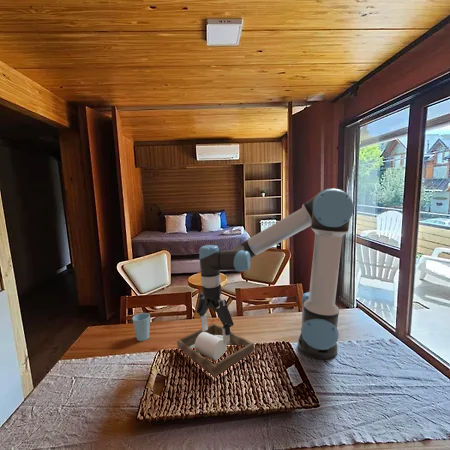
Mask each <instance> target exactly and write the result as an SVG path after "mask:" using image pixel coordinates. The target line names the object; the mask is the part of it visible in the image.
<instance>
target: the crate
mask: <svg viewBox="0 0 450 450" xmlns="http://www.w3.org/2000/svg"><path fill="white" fill-rule="evenodd" d="M222 327H223V326H222V325H219V324H217V323H216V322H214V323H212V324H210V325H208V330H206V331H204V332H206V333H209V334H211V335H214V336H215V335H222V336H223V330H222ZM200 333H202V328H201V329H198V330H197V331H194V332H192V333H190V334H188V335H186V336H184V337H181V338H180V339H179V338H178V339H177V340H176V343H177V344H176V345H177V350H178V349H181V350H183V351H184V352H185V353H186V354H187V355H188V356H189V357H190V358H191V359H192V360H193V361H194V362H196V363H197V364H198V365H199V366H201V367H202V368H203V369H204V370H206V371H207V372H208V373H210V374H211V375H212V376H213V377H217V376H218V375H219V374H221V373H222V372H224V371H225V370H227V369H228V368H230V367H231V366H233V365H234V364H236V363H237V362H239V361H240V360H242V359H243V358H244V357H246V356H247V355H248V354H250V353H251V352H252V351H253V350H254V349H255V348H254V342H252V341H250V340H248V339H246V338H245V337H244V338H243V337H242V336H240V335H238V334H236V333H235V332H233V331H231V330H230V341H229V342H228V343H226V345H244V346H245V347H243V348H241V349H240V350H238V351H236V352H235V353H233V354H231V355H230V356H228V357H226V358H225V359H223V360H221V361H220V362H218V363H216V364H213V363H212V362H211V361H209V360H208V359H206V358H205V357H203V356H202V355H201V354H199V353H198V352H196V351H195V350H193V349H192V348H195V341H196V338H197V337H198V335H199V334H200Z"/></svg>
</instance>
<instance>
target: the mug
mask: <svg viewBox="0 0 450 450" xmlns="http://www.w3.org/2000/svg"><path fill="white" fill-rule="evenodd" d="M195 350H196V351H197V352H199V353H201V354H203V355H205V356H207V357H209V358H211V359H213V360H215V361H217V360H218V359H219V358H220V357H221V356H222V355H223V354H224V353H225V351H226V344H224V343H223V336H222V335H215V336H214V335H211V334H209V333H206V332H202V333H200V334H199V335H198V337H197V338H196V341H195Z"/></svg>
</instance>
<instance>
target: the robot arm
mask: <svg viewBox="0 0 450 450" xmlns="http://www.w3.org/2000/svg"><path fill="white" fill-rule="evenodd" d="M354 207H355V206H354V202H353V200H352V198H351V196H350V195H349V194H348V192H345V191H344V190H343V189H339V188H326V189H322V190H321V191H318V193H317V194H316V195H315V196H313V197H312V198H311V199H309V200H308V201H306V202H305V203H303V204H302V206H301V208H299V209H298V210H296V211H294V212H292V213H290V214H288V215H287V216H285V217H284V218H282V219H281V220H279V221H277V222H276V223H273V224H272V225H270V226H268V227H267V228H264V229H263V230H261V231H260V232H258V233H257V234H255V235H252V236H251V237H250V238H247V240H244V241H243V242H240V243H239V244H237V245H236V246H235V247H234V248H233V249H232V250H220V248H219V246H218V245H215V244H206V245H202V246H201V247H200V248H199V249H198V250H199V251H198V252H199V258H198V259H199V266H200V267H199V268H200V278H201V279H200V281H201V282H200V283H201V286H202V287H201V291H202V292H201V293H199V300H198V304H197V308H196V313H197V314H198V315H199V317H200V319H199V320H200V325H201V326H200V327H201V329H202V332H204V331H206V330H208V326H209V325H208V324H209V323H208V315H207V313H208V310H209V308H210V309H211V310H213V311H214V312H215V313H216V314H217V316H218V318H219V320H220V322H221V324H222V326H221V327H222V330H223V343H224V344H226V343H228V342H229V341H230V331H231V327H233V326H235V325H234V321H233V319H232V316H231V313H230V311H229V307H228V304H227V300H226V299H223V300H222V299H221V294H222V285H221V283H222V282H221V271H224V272H227V271H228V272H248V271H249V270H250V268H251V264H252V261H251V260H252V259H253V258H254V257H256V256H258V255H260V254H261V253H263V252H265V251H267V250H269V249H270V248H272V247H274V246H277V245H278V244H280V243H281V242H283V241H286V240H287V239H290V237H293V236H294V235H296V234H298V233H299V232H301V231H304V230H305V229H308V228H309V227H310V229H311V230H312V231H313V232H314V240H313V241H314V243H313V254H312V260H311V261H312V264H311V273H310V282H309V291H307V292H305V293H303V294H302V296H301V307H302V309H301V329H300V335H299V337H298V343H297V345H298V346H297V347H298V350H299V351H300V352H301V353H302V354H304V355H305V356H307V357H309V358H313V359H316V360H328V359H329V360H330V359H332V358H335V357H336V356H337V354H338V350H339V349H338V348H339V346H338V340H339V330H338V323H339V314H340V309H339V307H338V305H336V298H337V287H338V278H339V271H340V270H339V269H340V263H341V261H340V260H341V252H342V244H343V237H344V236H345V235H346V234H347V233H349V229H350V222H351V221H350V219H351V218H352V216H353V214H354Z"/></svg>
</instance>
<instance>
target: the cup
mask: <svg viewBox="0 0 450 450" xmlns="http://www.w3.org/2000/svg"><path fill="white" fill-rule="evenodd" d="M150 319H151V313H147V312H141V313H137V314H135V315H133V317H132V318H131V320H132V324H133V327H134V333H135V336H136V337H135V339H136V340H137V341H138V342H144V341H146V340H149V338H150V329H151V328H150V324H151V320H150Z"/></svg>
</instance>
